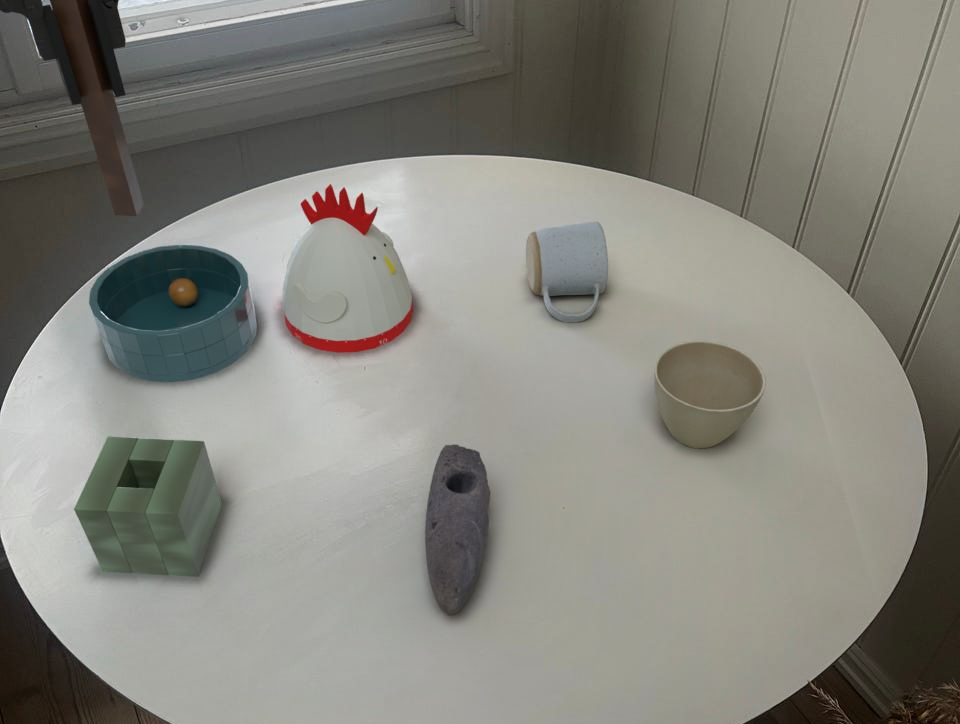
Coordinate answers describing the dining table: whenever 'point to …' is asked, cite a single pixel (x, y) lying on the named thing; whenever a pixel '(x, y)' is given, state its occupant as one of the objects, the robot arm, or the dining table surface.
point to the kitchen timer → (344, 279)
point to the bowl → (174, 313)
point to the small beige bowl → (706, 390)
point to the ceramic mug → (568, 264)
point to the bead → (183, 292)
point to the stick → (99, 104)
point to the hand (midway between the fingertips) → (95, 92)
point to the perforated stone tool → (456, 525)
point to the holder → (150, 506)
